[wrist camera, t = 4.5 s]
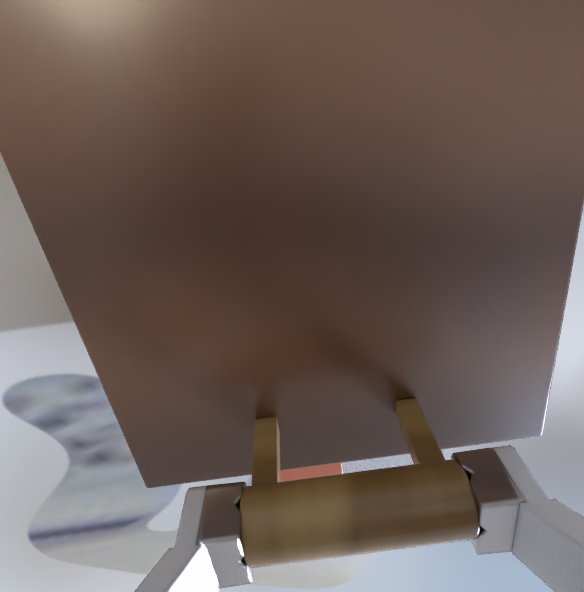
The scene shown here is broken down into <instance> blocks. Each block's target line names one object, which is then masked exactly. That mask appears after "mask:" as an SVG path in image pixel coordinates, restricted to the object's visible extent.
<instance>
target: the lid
mask: <svg viewBox="0 0 584 592" xmlns="http://www.w3.org/2000/svg"><path fill="white" fill-rule="evenodd" d="M0 152H1V155H2V157H3V159H4V162H5V164H6V166H7V168H8V171H9V173H10V175H11V178H12V180H13V182H14V184H15V187H16V189H17V191H18V194H19V196H20V198H21V201H22V203H23V205H24V207H25V210H26V212H27V214H28V217H29V219H30V221H31V223H32V226H33V228H34V230H35V233H36V235H37V237H38V239H39V242H40V244H41V246H42V249H43V251H44V253H45V255H46V258H47V260H48V262H49V265H50V267H51V269H52V272H53V274H54V276H55V278H56V281H57V283H58V285H59V288H60V290H61V292H62V294H63V297H64V299H65V301H66V304H67V306H68V308H69V310H70V313H71V315H72V317H73V320H74V322H75V324H76V326H77V329H78V331H79V333H80V335H81V338H82V340H83V342H84V345H85V347H86V349H87V352H88V354H89V356H90V359H91V361H92V363H93V365H94V368H95V370H96V372H97V375H98V377H99V379H100V381H101V384H102V386H103V388H104V391H105V393H106V395H107V397H108V400H109V402H110V404H111V407H112V409H113V411H114V414H115V416H116V418H117V420H118V423H119V425H120V427H121V430H122V432H123V434H124V436H125V439H126V441H127V443H128V446H129V448H130V450H131V452H132V455H133V457H134V459H135V462H136V464H137V466H138V468H139V471H140V473H141V475H142V478H143V480H144V482H145V485H146V487H147V488H153V487H161V486H168V485H176V484H183V483H191V482H198V481H206V480H213V479H221V478H228V477H236V476H243V475H251V474H252V486H247V487H245V488H244V490H243V492H242V496H241V500H240V512H241V534H242V544H243V550H244V559H245V562H246V564H247V565H248V567H250V568H255V567H263V566H271V565H279V564H287V563H295V562H303V561H311V560H318V559H326V558H334V557H342V556H350V555H358V554H366V553H374V552H382V551H389V550H398V549H405V548H412V547H421V546H429V545H437V544H445V543H453V542H460V541H469V540H475V539H476V538H477V537H478V536H479V532H480V524H479V517H478V511H477V506H476V502H475V498H474V494H473V491H472V488H471V486H470V481H469V479H468V476H467V474H466V473H465V471H464V469H463V467H461V465H460V464H459V463H458V462H457V461H456V460H445V458H444V456H443V454H442V452H441V450H440V449H448V448H455V447H463V446H470V445H478V444H485V443H493V442H500V441H508V440H516V439H523V438H531V437H538V436H541V435H542V433H543V427H544V422H545V417H546V411H547V405H548V400H549V394H550V389H551V383H552V377H553V371H554V366H555V361H556V355H557V350H558V344H559V338H560V333H561V327H562V321H563V316H564V310H565V305H566V299H567V293H568V288H569V283H570V276H571V271H572V266H573V259H574V255H575V249H576V243H577V238H578V232H579V227H580V221H581V215H582V210H583V204H584V0H0ZM402 454H411V457H412V459H413V462H414V465H407V466H399V467H391V468H384V469H376V470H369V471H361V472H353V473H346V474H338V475H331V476H323V477H315V478H308V479H300V480H293V481H285V482H281V480H280V471H281V470H289V469H297V468H304V467H312V466H319V465H327V464H334V463H342V462H349V461H357V460H365V459H372V458H380V457H387V456H395V455H402Z"/></svg>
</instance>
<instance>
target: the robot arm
mask: <svg viewBox="0 0 584 592" xmlns="http://www.w3.org/2000/svg"><path fill="white" fill-rule="evenodd" d="M451 460H456V461H457V462H458V463H459V464H460V465H461V467H463V469H464V471H465V473H466V474H467V476H468V479H469V481H470V486H471V488H472V491H473V494H474V498H475V502H476V506H477V511H478V517H479V524H480V532H479V536H478V537H477V538H476V539H475V540H471V541H472V544H473V546H474V548H475V550H476V553H477V555H480V554H491V553H500V552H511V551H512V554H513V555H515V556H516V557H517V558H518V559H519V560H520V561H521V562H522V563H523V564H525V565H526V566H527V567H528V568H529V569H530V570H531V571H532V572H533V573H534V574H536V575H537V576H538V577H539V578H540V579H541V580H542V581H543V582H544V583H546V584H547V585H548V586H549V587H550V588H551V589H552V590H553V591H555V592H584V517H583V516H582V515H580V514H578V513H577V512H575V511H574V510H572V509H570V508H569V507H567V506H566V505H564V504H563V503H561V502H559V501H558V500H556V499H548V497H547V496H546V494H545V493H544V491H543V490H542V488H541V487H540V485H539V484H538V482H537V481H536V479H535V478H534V477H533V475H532V474H531V472H530V471H529V469H528V468H527V466H526V465H525V463H524V462H523V460H522V459H521V457H520V456H519V454H518V453H517V451H516V450H515V448H513V447H512V446H511V445H510V446H502V447H495V448H485V449H478V450H471V451H464V452H458V453H453V454H452V456H451ZM245 487H247V486H246V483H245V482H237V483H228V484H217V485H208V486H201V487H192V488H189V489H188V491H187V493H186V496H185V500H184V505H183V510H182V515H181V520H180V524H179V529H178V533H177V538H176V543H175V548H170V549H168V550H167V552H166V553H165V554H164V555H163V557H162V558H161V559H160V560H159V562H158V563H157V564H156V565H155V566H154V568H153V569H152V570H151V571H150V573H149V574H148V575H147V576H146V578H145V579H144V580H143V581H142V583H141V584H140V585H139V587H138V588H137V589H136V590H135V591H134V592H219V591H220V590H219V588H226V587H232V586H238V585H245V584H251V583H252V582H253V568H250V567H248V565H247V564H246V562H245V559H244V550H243V544H242V534H241V512H240V500H241V496H242V492H243V490H244V488H245Z"/></svg>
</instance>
